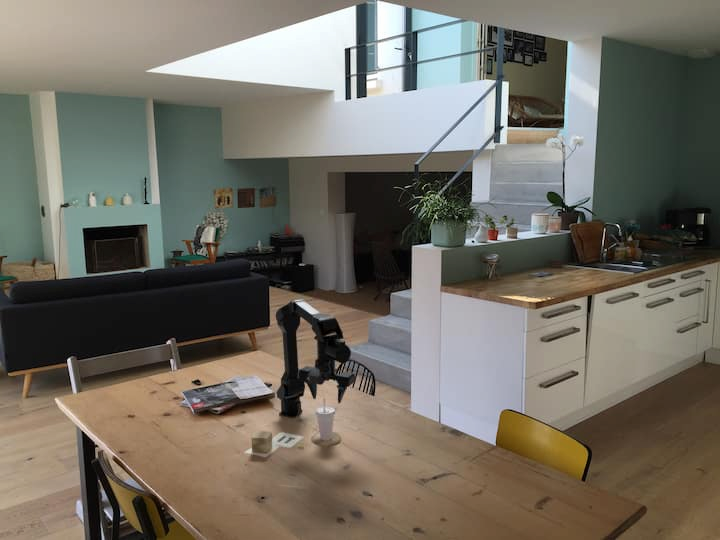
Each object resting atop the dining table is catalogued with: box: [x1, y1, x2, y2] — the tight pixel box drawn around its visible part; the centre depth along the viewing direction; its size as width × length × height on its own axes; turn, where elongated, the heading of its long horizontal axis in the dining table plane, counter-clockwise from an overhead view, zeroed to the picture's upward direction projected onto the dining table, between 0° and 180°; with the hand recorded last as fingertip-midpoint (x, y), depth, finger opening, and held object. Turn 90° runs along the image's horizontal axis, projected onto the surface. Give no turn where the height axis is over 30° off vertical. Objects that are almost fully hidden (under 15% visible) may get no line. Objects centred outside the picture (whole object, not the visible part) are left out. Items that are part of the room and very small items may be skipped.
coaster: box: [310, 431, 342, 447], centre depth 198 cm, size 10×10×1 cm
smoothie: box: [315, 397, 336, 440], centre depth 196 cm, size 6×6×14 cm
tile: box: [244, 444, 280, 458], centre depth 190 cm, size 8×8×1 cm
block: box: [251, 430, 273, 454], centre depth 190 cm, size 5×5×5 cm
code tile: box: [272, 431, 305, 449], centre depth 197 cm, size 9×9×1 cm
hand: (326, 400), depth 197 cm, fingers open, 9 cm apart
